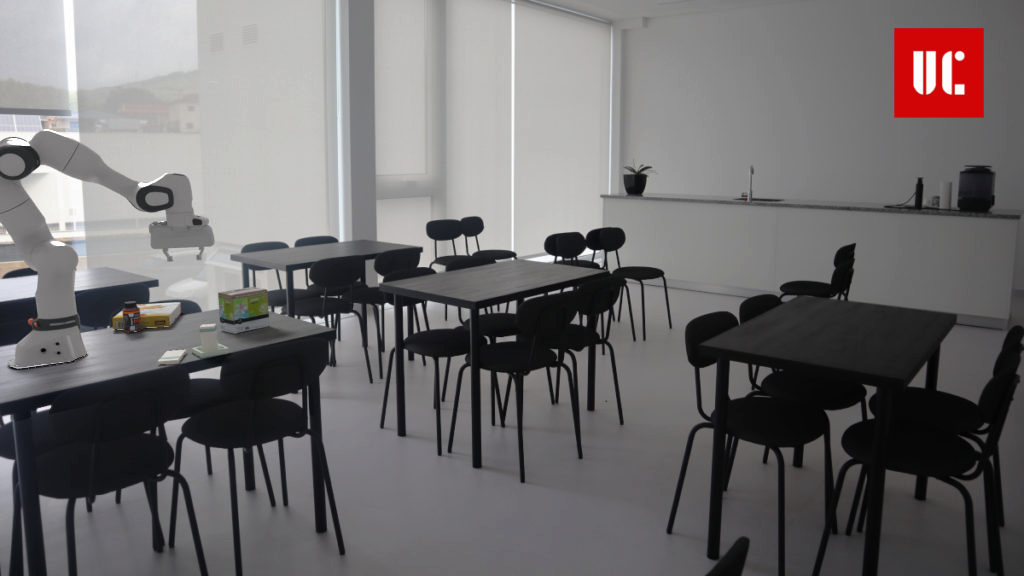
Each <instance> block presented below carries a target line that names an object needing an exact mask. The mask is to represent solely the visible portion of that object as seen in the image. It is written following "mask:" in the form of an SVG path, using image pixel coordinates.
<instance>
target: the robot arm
mask: <svg viewBox="0 0 1024 576" xmlns="http://www.w3.org/2000/svg"><path fill="white" fill-rule="evenodd" d="M41 166H47V167H49V168H51V169H53V170H56V171H58V172H59V173H62V174H63V175H66V176H69V177H71V178H73V179H75V180H78V181H83V182H87V183H93V184H97V185H100V186H103V187H105V188H107V189H109V190H111V191H113V192H115V193H116V194H119V195H121V196H122V197H123V198H125V199H126V200H127V201H128V202H129V203H130V204H131V206H132V207H134V209H136V210H137V211H140V212H143V213H149V214H154V213H159V212H161V211H165V218H166V220H165V221H163V220H162V221H153V222H150V224H149V225H148V231H149V232H148V233H149V234H150V247H151V248H152V249H153V250H161V249H162V253H163V254H164V255H165V257H166V261H167V263H168V262H170V263H171V262H174V259H173V255H170V254H169V249H184V248H188V249H189V248H198V251H199V253H198V254H196V257H195V258H196V261H202V260H203V256H202V255H203V253H204V251H205V248H210V247H213V246H214V245H215V243H216V242H215V236H214V235H215V234H214V231H213V228H212V227H211V225H210V224H209V223H210V219H209V218H208V217H205V216H201V215H196V214H195V210H194V207H193V190H192V186H191V181H190V179H189V177H188V176H187V175H186V174H182V173H175V172H165V173H163V175H161V176H160V177H159V178H156V179H155V180H153V181H150V182H145V181H144V182H143V181H137V180H133V179H131V178H129V177H128V176H126V175H124V174H122V173H120V172H118V171H117V170H114V169H113V168H111V167H110V166H109V165H108V164H106V163H105V161H104V160H103V159H102V157H101V156H100V154H98V153H97V152H95V150H93V149H91V148H90V147H89V146H87V145H85V144H84V143H82V142H80V141H78V140H76V139H74V138H72V137H71V136H70V137H69V136H67V135H65V134H62V133H60V132H57V131H54V130H50V129H42V130H39V131H38V132H36V133H35V134H34V135H33V137H32V138H31V140H29V141H28V140H26V139H24V138H22V137H19V136H8V137H5V138H3V139H1V140H0V224H1V226H3V228H4V229H5V231H6V232H7V233H8V235H9V236H10V238H11V240H12V242H13V243H14V245H15V247H16V249H17V251H18V253H19V254H20V256H21V257H22V259H23V261H24V263H25V265H27V266H28V268H30V269H31V270H33V271H34V272H37V285H36V286H37V287H36V290H35V294H34V295H35V296H34V297H35V303H36V305H35V306H36V310H37V311H36V312H37V317H36V318H35V319H34V318H32V317H31V318H29V319H28V320H27V323H28V325H30V326H31V327H32V330H31V331H29V333H28V334H27V335H26V336H25V337H23V338H22V339H20V341H19V342H18V343H17V344H16V347H15V349H14V350H15V351H14V357H12V358H11V359H9V360H8V361H7V365H8V364H9V365H11V366H14V367H27V366H34V365H41V364H51V363H59V362H68V361H73V360H75V359H76V358H79V357H82V356H84V355H86V354H87V352H88V351H87V349H86V347H85V344H84V340H83V338H82V334H81V327H82V326H81V318H80V315H79V313H78V311H77V304H76V301H77V300H76V294H75V282H76V281H75V280H76V272H77V271H76V269H77V267H78V264H79V255H78V253H77V251H75V249H74V248H73V247H72V246H71V245H69V244H67V243H65V242H63V241H59V240H58V241H57V239H55V237H54V236H53V235H52V232H51V231H50V228H49V225H48V223H47V222H46V217H45V216H44V214H43V213H42V212H41V210H40V209H39V208H38V206H37V204H36V203H35V202H34V200H33V199H32V197H30V195H29V194H28V192H27V190H25V187H24V186H23V184H22V182H21V181H22V179H25V178H26V177H29V176H30V175H31V174H32V173H33V172H34V171H36V170H37V169H38V168H40V167H41ZM87 355H88V354H87ZM87 355H86V356H87ZM84 357H85V356H84ZM82 358H83V357H82ZM79 359H80V358H79ZM12 360H14V361H12ZM75 361H76V360H75ZM16 365H18V366H16Z"/></svg>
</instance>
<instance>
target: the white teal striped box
mask: <svg viewBox="0 0 1024 576" xmlns="http://www.w3.org/2000/svg"><path fill="white" fill-rule="evenodd" d="M217 328H218V327H217V323H207V324H201V325H200V326H199V336H200V346H201V348H202V352H207V351H212V350H217V349H218V343H219V342H218V340H219V339H218V332H217Z"/></svg>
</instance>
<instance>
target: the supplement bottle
mask: <svg viewBox="0 0 1024 576" xmlns="http://www.w3.org/2000/svg"><path fill="white" fill-rule="evenodd" d="M137 305H138V304H137V301H135V300H133V301H125V302H124V308H122V310H121V311H122V312H123V322H124V330H123V331H124V332H125V331H126V332H134V331H140V330H141V331H142V330H143V329H142V325H141V316H140V308H139V307H137ZM141 331H140V332H141ZM126 332H125V333H126Z"/></svg>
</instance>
